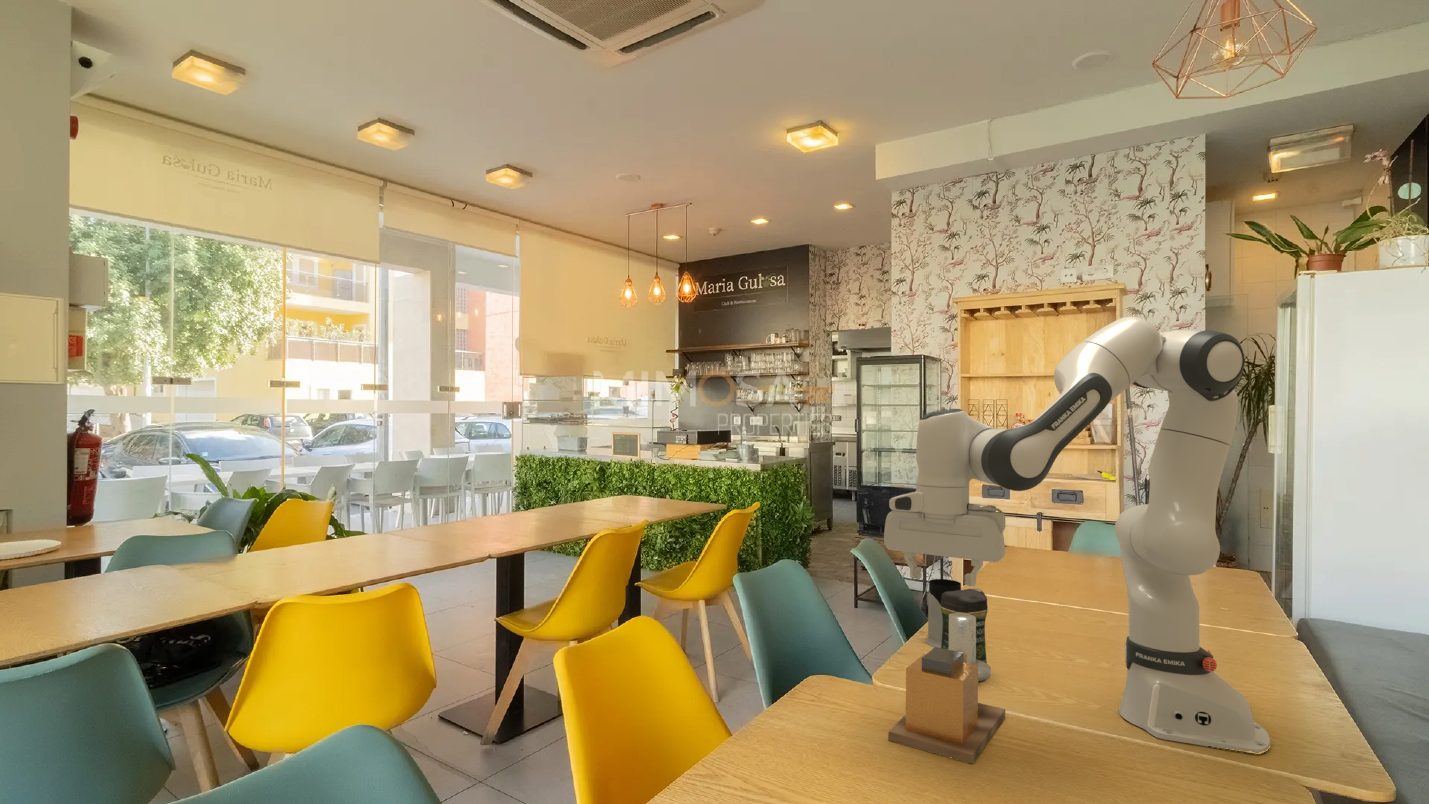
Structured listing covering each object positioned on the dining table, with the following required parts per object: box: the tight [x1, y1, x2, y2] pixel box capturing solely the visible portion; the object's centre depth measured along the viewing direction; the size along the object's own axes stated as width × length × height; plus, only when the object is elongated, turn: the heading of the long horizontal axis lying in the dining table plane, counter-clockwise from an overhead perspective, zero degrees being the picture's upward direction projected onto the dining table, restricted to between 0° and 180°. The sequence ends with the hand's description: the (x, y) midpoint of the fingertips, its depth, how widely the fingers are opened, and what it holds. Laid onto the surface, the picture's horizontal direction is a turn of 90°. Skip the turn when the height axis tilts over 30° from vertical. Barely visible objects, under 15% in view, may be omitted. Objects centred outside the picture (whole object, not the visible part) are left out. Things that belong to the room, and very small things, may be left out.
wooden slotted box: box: [905, 613, 992, 745], centre depth 127 cm, size 22×10×16 cm, turn 145°
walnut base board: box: [887, 702, 1006, 765], centre depth 125 cm, size 22×14×2 cm, turn 145°
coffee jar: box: [940, 588, 989, 664], centre depth 150 cm, size 10×8×19 cm
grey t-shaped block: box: [922, 647, 963, 676], centre depth 122 cm, size 7×5×12 cm
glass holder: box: [925, 578, 985, 648], centre depth 172 cm, size 9×14×15 cm, turn 88°
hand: (942, 581), depth 122 cm, fingers open, 8 cm apart
